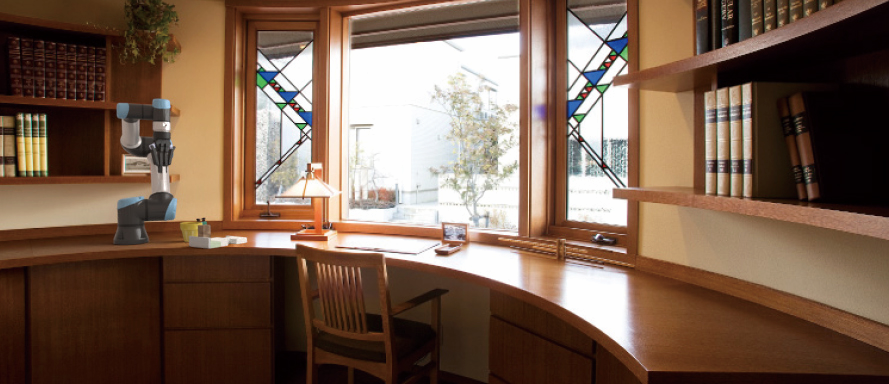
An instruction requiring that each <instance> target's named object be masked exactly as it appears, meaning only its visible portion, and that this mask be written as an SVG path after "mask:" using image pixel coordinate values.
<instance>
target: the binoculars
mask: <svg viewBox="0 0 889 384" xmlns="http://www.w3.org/2000/svg"><path fill="white" fill-rule="evenodd" d="M196 222H202V225H208V223H207V221H206V217H201V218H196Z"/></svg>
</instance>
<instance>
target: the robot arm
mask: <svg viewBox="0 0 889 384" xmlns="http://www.w3.org/2000/svg"><path fill="white" fill-rule="evenodd" d="M171 108H172V107H171V101H170V100H169V99H166V98H153V99H152V104H141V103H128V102H118V103H117V104H116V117H117V118H118V119H121V137H120V145H121V147H122V149H123V150H124V151H125V152H127V153H128V154H130V155H131V156H133V157H136V158H143V159H144V158H146V161H148V162H149V164H150V184H151V193H150V194H149V196H148V198H145V196H144V195H139V196H130V197H124V198H119V199H118V201H117V205H116V211H117V216H116V217H117V221H116V222H117V229H116V231H115V234H114V237H113V244H114V245H117V246H118V245H123V246H125V245H139V244H146V243H149V242H150V238H149V237H150V236H148V235H149V234H148V233H147V229H146V228H145V222H168V221H174V220H175V219H176V215H177V203H178V198H176V197H175V196H174V195H173V194H172V193H171V185H170V169H169V166H171V165H172V160H173V158H174V153H175V149H177V148H176V145H175V146H174V145H173V141H172V140H171V139H172V137H171V136H172V135H171V133H172V132H171V131H172V130H171V129H172V127H171ZM140 120H142V121H143V120H144V121H145V120H146V121H152V136H140Z"/></svg>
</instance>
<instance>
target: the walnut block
mask: <svg viewBox="0 0 889 384" xmlns="http://www.w3.org/2000/svg"><path fill="white" fill-rule="evenodd" d="M211 231H212V230H211V224H207V225H198V237H207V238H210V241H211V238H212V237H211V234H212V233H211Z"/></svg>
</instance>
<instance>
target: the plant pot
mask: <svg viewBox="0 0 889 384" xmlns="http://www.w3.org/2000/svg"><path fill="white" fill-rule="evenodd" d="M198 225H202V221H200V222H197V221H184V222H180V223H179V228H180V229H179V230H181V233H182V237H183V242H185V243H189V236H197V237H198Z"/></svg>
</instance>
